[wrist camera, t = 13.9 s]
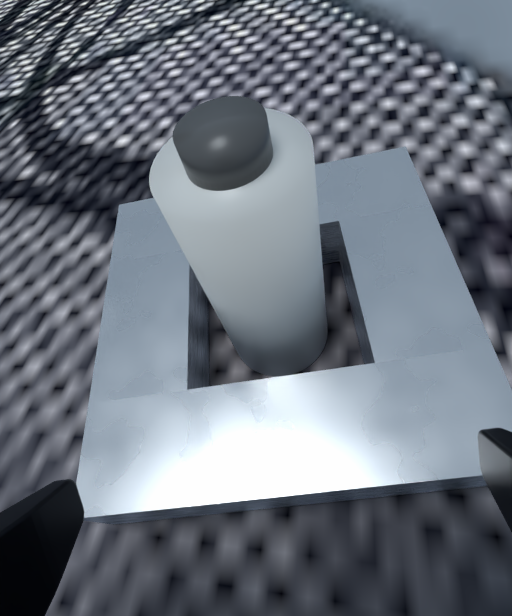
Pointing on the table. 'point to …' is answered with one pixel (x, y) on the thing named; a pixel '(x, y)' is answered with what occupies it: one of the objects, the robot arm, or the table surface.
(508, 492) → the robot arm
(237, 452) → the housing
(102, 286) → the table surface
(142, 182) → the table surface
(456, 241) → the table surface
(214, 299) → the plug
